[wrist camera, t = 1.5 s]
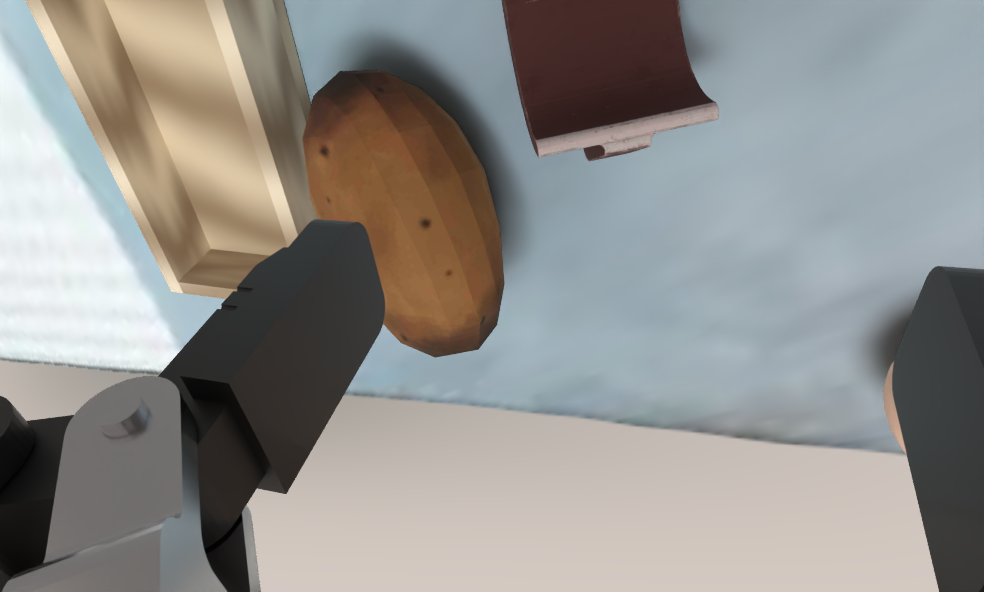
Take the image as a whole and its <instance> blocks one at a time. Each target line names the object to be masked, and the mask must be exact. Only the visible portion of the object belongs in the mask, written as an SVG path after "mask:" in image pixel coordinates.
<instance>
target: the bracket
mask: <svg viewBox="0 0 984 592" xmlns="http://www.w3.org/2000/svg"><path fill="white" fill-rule="evenodd" d="M502 5H503V12H504V18H505V23H506V29H507V35H508V40H509V46H510V51H511V56H512V62H513V67H514V72H515V76H516V81H517V86H518V90H519V95H520V99H521V104H522V108H523V112H524V116H525V120H526V124H527V128H528V131H529V135H530V138H531V141H532V144H533V147H534V150H535V152H536V154H537V156H538V157H544V156H548V155H553V154H558V153H563V152H567V151H572V150H577V149H581V148H583V149H584V153H585V155H586V158H587V159H588V161H593V160H598V159H602V158H607V157H612V156H617V155H621V154H626V153H630V152H634V151H637V150H640V149H643V148H647V147H650V145H651V138H652V136H653V134H655V133H656V132H661V131H666V130H671V129H675V128H680V127H685V126H689V125H694V124H699V123H703V122H708V121H713V120H717V119H718V116H719V110H718V106H717V103H716V102H714V101H712V100H711V99H710V98H708V97H707V96H706V95H705V93H704V92H703V91H702V89H701V88H700V86H699V84H698V82H697V80H696V78H695V76H694V74H693V71H692V69H691V66H690V63H689V60H688V56H687V52H686V48H685V44H684V39H683V34H682V28H681V22H680V13H679V2H678V0H502Z"/></svg>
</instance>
